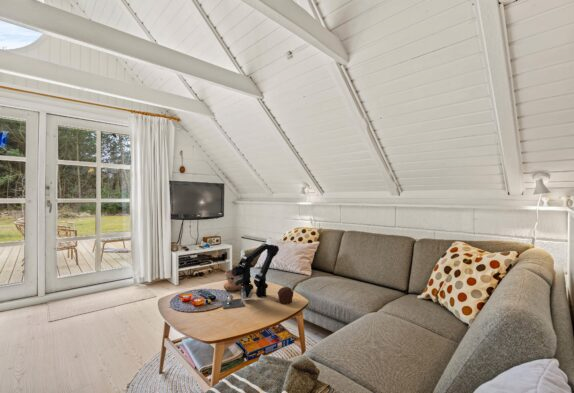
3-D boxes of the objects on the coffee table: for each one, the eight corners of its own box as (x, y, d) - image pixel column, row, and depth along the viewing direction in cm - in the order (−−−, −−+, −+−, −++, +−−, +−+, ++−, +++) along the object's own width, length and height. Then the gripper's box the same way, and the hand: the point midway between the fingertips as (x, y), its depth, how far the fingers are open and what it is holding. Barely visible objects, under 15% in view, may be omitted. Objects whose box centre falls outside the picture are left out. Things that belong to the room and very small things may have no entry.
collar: (249, 295, 208) (249, 288, 208) (251, 298, 202) (251, 291, 202) (241, 296, 206) (241, 289, 206) (242, 299, 200) (242, 292, 200)
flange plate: (240, 299, 205) (240, 292, 205) (244, 306, 193) (244, 298, 193) (220, 302, 200) (220, 295, 200) (223, 309, 189) (223, 301, 188)
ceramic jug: (232, 294, 215) (232, 275, 215) (218, 290, 223) (218, 272, 223) (248, 287, 230) (248, 270, 230) (235, 284, 238) (235, 267, 238)
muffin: (283, 297, 209) (283, 284, 209) (296, 301, 203) (296, 287, 203) (274, 303, 199) (274, 288, 199) (287, 306, 193) (287, 291, 193)
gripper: (232, 271, 210) (232, 292, 210) (237, 278, 192) (237, 301, 192) (247, 269, 213) (247, 290, 214) (253, 277, 196) (253, 299, 196)
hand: (246, 295), depth 204 cm, fingers closed on collar, 6 cm apart
